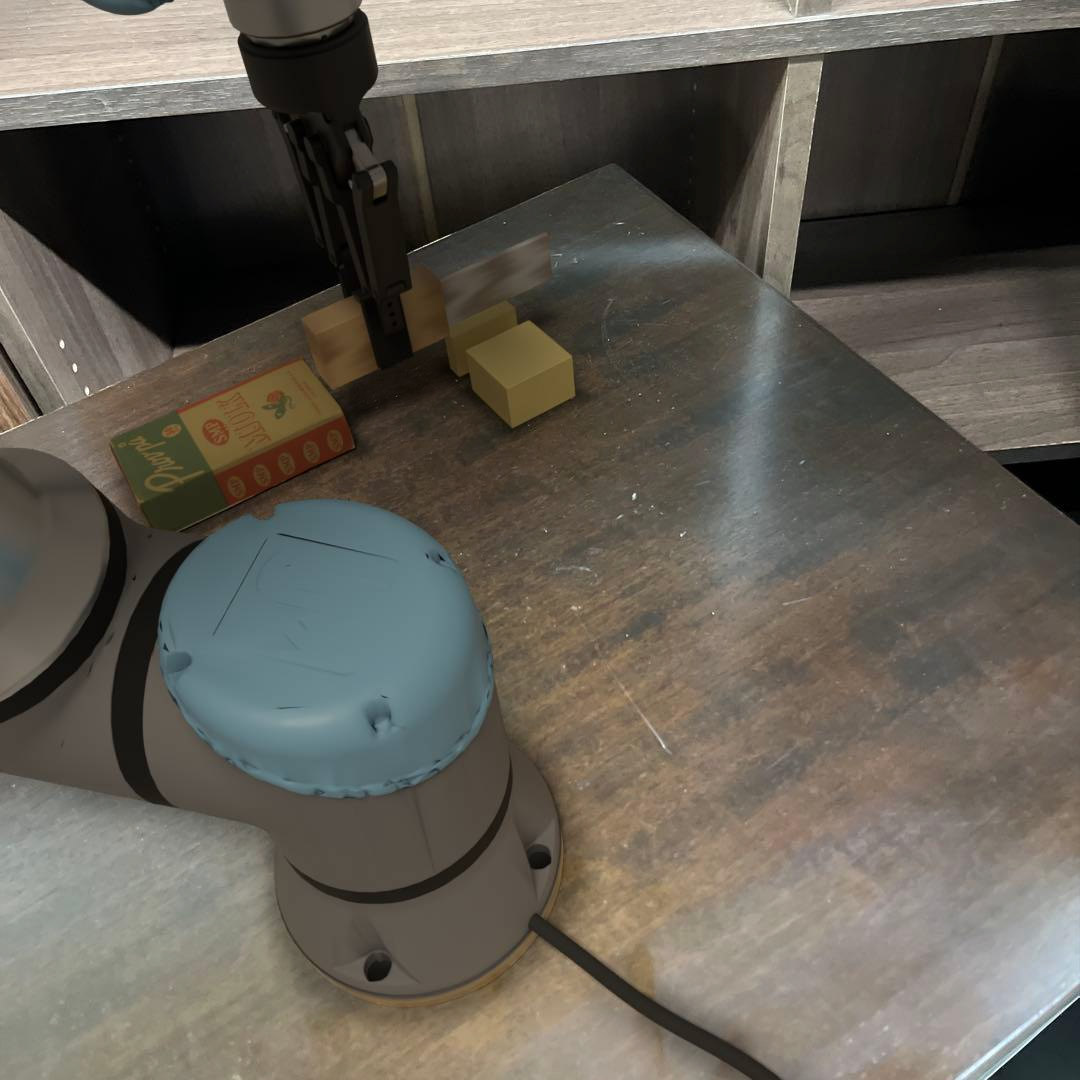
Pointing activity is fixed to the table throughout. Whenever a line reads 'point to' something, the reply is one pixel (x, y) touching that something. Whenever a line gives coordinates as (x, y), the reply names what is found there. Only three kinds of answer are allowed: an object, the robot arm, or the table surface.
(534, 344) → the butter
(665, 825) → the table surface
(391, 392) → the table surface
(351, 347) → the knife
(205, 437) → the carton
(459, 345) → the butter slice
